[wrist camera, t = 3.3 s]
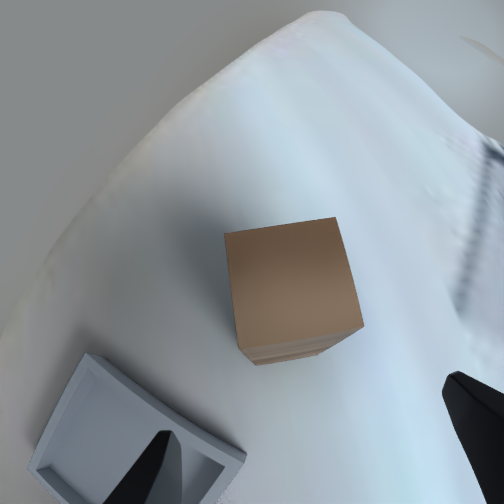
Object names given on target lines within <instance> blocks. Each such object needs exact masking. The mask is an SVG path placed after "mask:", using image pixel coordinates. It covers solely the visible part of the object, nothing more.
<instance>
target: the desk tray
mask: <svg viewBox="0 0 504 504" xmlns="http://www.w3.org/2000/svg"><path fill="white" fill-rule="evenodd" d="M160 430H172V431H173V432H174V434H175V435H176V437H177V439H178V441H179V442H180V444H181V449H182V482H183V491H182V503H181V504H215V503H216V502H217V500H218V499H219V498H220V496H221V495H222V494H223V492H224V491H225V490H226V488H227V487H228V485H229V484H230V483H231V481H232V480H233V478H234V477H235V476H236V474H237V473H238V471H239V470H240V468H241V467H242V466H243V464H244V462H245V459H246V456H247V454H246V453H244V452H242V451H241V450H239V449H237V448H235V447H233V446H231V445H229V444H228V443H226V442H224V441H222V440H221V439H219V438H217V437H215V436H214V435H212V434H210V433H209V432H207V431H205V430H204V429H202V428H200V427H199V426H197V425H196V424H194V423H192V422H191V421H189V420H188V419H186V418H185V417H183V416H182V415H180V414H178V413H177V412H175V411H174V410H173V409H171V408H170V407H168V406H167V405H165V404H164V403H162V402H161V401H159V400H158V399H157V398H155V397H154V396H152V395H151V394H150V393H148V392H147V391H146V390H144V389H143V388H142V387H140V386H139V385H138V384H136V383H135V382H134V381H132V380H131V379H130V378H129V377H127V376H126V375H125V374H124V373H122V372H121V371H120V370H119V369H117V368H116V367H115V366H114V365H112V364H111V363H110V362H109V361H108V360H106V359H105V358H104V357H103V356H99V355H94V354H90V353H86V352H85V354H84V356H83V358H82V359H81V361H80V363H79V365H78V366H77V368H76V370H75V372H74V374H73V375H72V377H71V379H70V381H69V383H68V385H67V387H66V388H65V390H64V392H63V394H62V396H61V398H60V400H59V402H58V404H57V406H56V408H55V410H54V412H53V414H52V416H51V418H50V420H49V422H48V424H47V426H46V428H45V430H44V432H43V434H42V436H41V438H40V441H39V443H38V445H37V447H36V449H35V452H34V454H33V456H32V458H31V461H30V463H29V465H28V468H27V469H28V471H29V472H30V473H31V474H32V475H33V476H34V477H35V478H36V479H37V481H38V482H39V483H40V484H41V485H42V486H43V487H44V488H45V489H46V490H47V491H48V492H49V493H50V494H51V495H52V496H53V497H54V498H55V499H56V500H57V501H58V502H59V503H60V504H103V502H104V501H105V500H106V499H107V497H108V496H109V495H110V494H111V492H112V491H113V490H114V488H115V487H116V486H117V485H118V483H119V482H120V481H121V480H122V478H123V477H124V476H125V474H126V473H127V472H128V471H129V469H130V468H131V467H132V465H133V464H134V463H135V461H136V460H137V459H138V458H139V456H140V455H141V454H142V452H143V451H144V450H145V448H146V447H147V446H148V444H149V443H150V442H151V440H152V439H153V438H154V436H155V435H156V434H157V433H158V431H160Z"/></svg>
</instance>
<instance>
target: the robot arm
mask: <svg viewBox="0 0 504 504" xmlns="http://www.w3.org/2000/svg"><path fill="white" fill-rule="evenodd" d="M442 396H443V399H444V402H445V404H446V407H447V410H448V413H449V415H450V418H451V421H452V424H453V426H454V429H455V431H456V434H457V436H458V438H459V440H460V442H461V444H462V446H463V449H464V451H465V453H466V455H467V457H468V460H469V462H470V464H471V466H472V469H473V471H474V473H475V476H476V478H477V480H478V483H479V485H480V488H481V490H482V493H483V495H484V498H485V500H486V503H487V504H504V394H503V393H501V392H499V391H497V390H495V389H493V388H491V387H489V386H488V385H486V384H484V383H482V382H480V381H478V380H476V379H474V378H472V377H470V376H468V375H466V374H464V373H462V372H460V371H456V372H453V373H451V374H449V375H448V376H447V378H446V381H445V384H444V387H443V389H442ZM182 491H183V482H182V449H181V444H180V442H179V441H178V439H177V437H176V435H175V434H174V432H173V431H172V430H160V431H158V433H157V434H156V435H155V436H154V438H153V439H152V440H151V442H150V443H149V444H148V446H147V447H146V448H145V450H144V451H143V452H142V454H141V455H140V456H139V458H138V459H137V460H136V461H135V463H134V464H133V465H132V467H131V468H130V469H129V471H128V472H127V473H126V474H125V476H124V477H123V478H122V480H121V481H120V482H119V483H118V485H117V486H116V487H115V488H114V490H113V491H112V492H111V494H110V495H109V496H108V497H107V499H106V500H105V501H104V502H103V504H181V503H182Z"/></svg>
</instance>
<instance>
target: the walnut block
mask: <svg viewBox="0 0 504 504" xmlns="http://www.w3.org/2000/svg"><path fill="white" fill-rule="evenodd" d="M224 235H225V244H226V252H227V261H228V269H229V277H230V285H231V293H232V301H233V309H234V317H235V324H236V332H237V339H238V346H239V350H240V351H241V352H242V353H243V354H244V355H245V356H246V357H247V358H248V359H249V360H250V361H252V362H253V363H254V364H255V365H263V364H269V363H275V362H282V361H287V360H293V359H299V358H304V357H309V356H315V355H318V354H320V353H322V352H323V351H325V350H327V349H328V348H330V347H332V346H334V345H335V344H337V343H339V342H340V341H342V340H343V339H345V338H347V337H348V336H350V335H352V334H353V333H355V332H356V331H358V330H359V329H361V328H363V327H364V323H363V319H362V314H361V310H360V306H359V302H358V297H357V293H356V289H355V285H354V281H353V277H352V274H351V270H350V266H349V262H348V259H347V255H346V251H345V248H344V244H343V241H342V237H341V234H340V230H339V227H338V224H337V220H336V217H332V218H325V219H318V220H311V221H304V222H297V223H291V224H284V225H277V226H270V227H264V228H257V229H251V230H244V231H238V232H232V233H225V234H224Z"/></svg>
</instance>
